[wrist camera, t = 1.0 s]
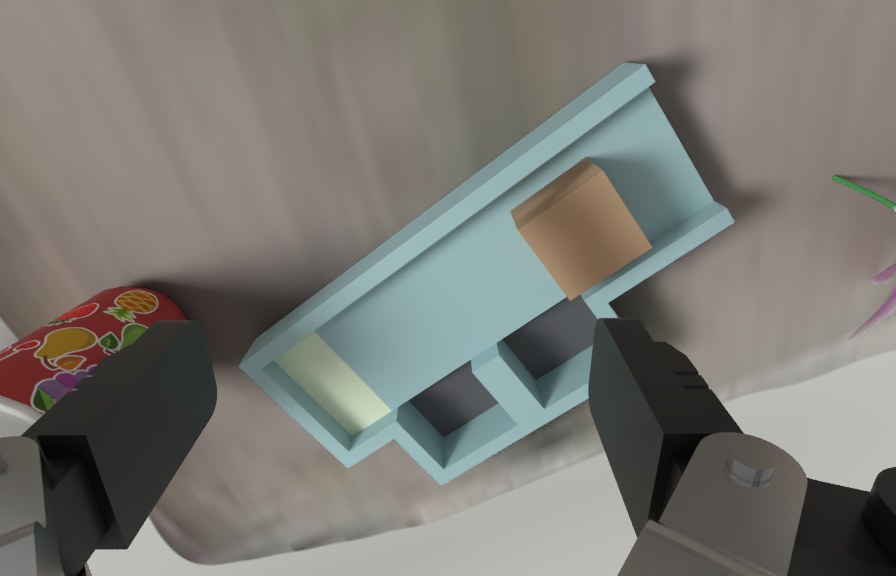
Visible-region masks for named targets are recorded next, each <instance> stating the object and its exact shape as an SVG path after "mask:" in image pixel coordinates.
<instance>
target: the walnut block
mask: <svg viewBox="0 0 896 576" xmlns="http://www.w3.org/2000/svg"><path fill="white" fill-rule="evenodd" d="M510 213H511V215H512V218H513V220H514V222H515V225H516V227H517V230H518V231H519V233H520V234H521V235H522V237H523V238H524V239H525V241H526V242H527V243H528V245H529V246H530V247H531V249H532V250H533V252H534V253H535V254H536V256H537V257H538V258H539V260H540V261H541V262H542V264H543V265H544V266H545V268H546V269H547V270H548V272H549V273H550V275H551V276H552V277H553V279H554V280H555V281H556V283H557V284H558V285H559V287H560V288H561V289H562V291H563V292H564V293H565V295H566V296H567V298H568V299H569V300H570V301H571V300H573V299H574V298H576V297H577V296H579V295H580V294H582V293H583V292H585V291H586V290H588V289H590V288H591V287H593V286H594V285H596V284H597V283H599V282H600V281H602V280H603V279H605V278H607V277H608V276H610V275H611V274H613V273H614V272H616V271H617V270H619V269H620V268H622V267H623V266H625V265H627V264H628V263H630V262H631V261H633V260H634V259H636V258H637V257H639V256H640V255H642V254H644V253H645V252H647V251H648V250H650V249H651V248H653V247H652V246H651V244H650V243H649V241H648V240H647V238H646V237H645V235H644V233H643V232H642V230H641V229H640V227H639V226H638V224H637V223H636V221H635V219H634V218H633V216H632V215H631V213H630V212H629V210H628V209H627V207H626V205H625V204H624V202H623V201H622V199H621V198H620V196H619V195H618V193H617V191H616V190H615V188H614V187H613V185H612V184H611V182H610V181H609V179H608V177H607V176H606V174H605V173H604V171H603V170H602V169H601V168H599V167H598V166H597V165H595V164H594V163H593V162H591V161H590V160H589V159H587V158H586V157H585V158H584V159H582V160H581V161H579V162H578V163H577V164H575V165H574V166H572V167H571V168H570V169H568V170H567V171H565V172H564V173H563V174H561V175H560V176H558V177H557V178H556V179H554V180H553V181H551V182H550V183H549V184H547V185H546V186H544V187H543V188H542V189H540V190H539V191H538V192H536V193H535V194H533V195H532V196H531V197H529V198H528V199H526V200H525V201H524V202H522V203H521V204H519V205H518V206H517V207H515V208H514V209H512V210H511V211H510Z"/></svg>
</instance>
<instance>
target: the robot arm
mask: <svg viewBox="0 0 896 576" xmlns="http://www.w3.org/2000/svg"><path fill="white" fill-rule="evenodd" d="M588 396H589V406H590V411H591V414H592V417H593V420H594V423H595V425H596V428H597V431H598V433H599V436H600V439H601V441H602V444H603V447H604V450H605V452H606V455H607V457H608V460H609V463H610V466H611V468H612V471H613V474H614V476H615V479H616V482H617V484H618V487H619V490H620V492H621V495H622V498H623V501H624V503H625V506H626V508H627V511H628V514H629V517H630V519H631V522H632V525H633V527H634V530H635V533H636V535H637V538H638V539H637V541H636V542H635V544H634V546H633V548H632V550H631V552H630V553H629V555H628V557H627V559H626V561H625V563H624V565H623V567H622V568H621V570H620V572H619V574H618V576H896V467H893V468H888V469H886V470H883V471H882V472H880V473H879V474H878V476H877V478H876V479H875V482H874V484H873V487H872V489H871V492H868V491H862V490H858V489H853V488H849V487H844V486H840V485H835V484H830V483H826V482H821V481H817V480H813V479H809V478H807V477H806V474H805V472H804V470H803V468H802V467H801V466H800V464H799V463H798V462H797V461H796V460H795V459H794V458H793V457H792V456H791V455H789V454H788V453H787V452H786V451H784V450H783V449H781V448H779V447H778V446H776V445H774V444H772V443H770V442H768V441H766V440H763V439H761V438H758V437H755V436H751V435H747V434H744V433H743V432H742V430H740V428H739V426H738V425H737V424H736V422H735V421H734V420H733V418H732V417H731V416H730V414H729V413H728V411H727V410H726V409H725V407H724V406H723V405H722V403H721V402H720V401H719V399H718V398H717V397H716V395H715V394H714V393H713V391H712V390H711V389H709V388H708V384H707V383H706V382H705V380H704V379H703V378H702V376H701V375H698V371H697V370H696V368H695V367H694V366H693V364H692V363H691V361H690V360H689V359H688V357H687V356H686V355H684V354H683V353H681V352H680V351H678V350H677V349H675V348H674V347H672V346H671V345H669V344H668V343H666V342H654V341H653V340H652V338H651V337H650V335H649V334H648V332H647V331H646V329H645V328H644V326H643V325H642V323H641V322H640V320H639V319H638V318H599V319H598V320H597V322H596V326H595V331H594V340H593V349H592V358H591V366H590V375H589V385H588ZM216 400H217V386H216V381H215V377H214V372H213V368H212V363H211V359H210V355H209V350H208V346H207V341H206V337H205V333H204V329H203V327H202V325H201V324H200V323H199V322H198V321H195V320H181V321H156V322H155V323H153V324H152V325H151V326H150V327H149V328H148V329H147V330H146V331H145V332H144V333H143V334H142V335H141V336H140V337H139V338H138V339H137V340H136V341H134V342H133V343H132V344H131V345H128V346H126V347H125V348H123V349H121V350H119V351H117V352H116V353H114V354H112V355H110V356H108V357H106V358H105V359H103V360H102V361H101V362H100V363H99V364H98V365H97V366H96V367H95V368H94V369H92V370H91V371H90V372H89V373H88V374H87V375H86V378H83V379H82V380H80V381H79V382H78V383H77V384H76V385H75V386H74V387H73V388H72V391H71V392H67V393H66V394H65V395H64V396H63V397H62V398H61V399H60V400H59V401H58V402H57V403H56V404H54V405H53V406H52V407H51V408H50V409H49V410H48V411H47V412H46V413H45V414H44V415H43V416H41V417H40V418H39V419H38V420H37V421H36V422H35V423H34V424H33V425H32V426H31V427H29V428H28V429H27V430H26V431H25V432H24V433H23V434H22V435H21V436H10V437H2V438H0V576H92V575H91V572H90V569H89V567H88V564H87V560H88V559H89V558H90V556H91V554H92V553H93V552H94V551H95V549H128V547H129V546H130V544H131V542H132V541H133V539H134V538H135V536H136V535H137V533H138V531H139V530H140V528H141V527H142V525H143V524H144V522H145V521H146V519H147V517H148V516H149V514H150V513H151V511H152V510H153V508H154V506H155V505H156V503H157V502H158V500H159V498H160V497H161V495H162V494H163V492H164V491H165V489H166V487H167V486H168V484H169V483H170V481H171V480H172V478H173V476H174V475H175V473H176V472H177V470H178V469H179V467H180V465H181V464H182V462H183V461H184V459H185V458H186V456H187V454H188V453H189V451H190V450H191V448H192V446H193V445H194V443H195V442H196V440H197V439H198V437H199V435H200V434H201V432H202V431H203V429H204V428H205V426H206V424H207V423H208V421H209V420H210V418H211V416H212V415H213V412H214V409H215V406H216Z"/></svg>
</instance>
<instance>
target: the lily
mask: <svg viewBox="0 0 896 576" xmlns="http://www.w3.org/2000/svg"><path fill="white" fill-rule="evenodd" d="M832 180H835V181H837V182H839V183H841V184H844V185H846V186H848V187H851V188H853V189H855V190H857V191H859V192H861V193H864V194H866V195H868V196H870V197H872V198H874V199H876V200H877V201H879V202H881V203H883V204H885V205H886V206H888V207H889V208H891V209H892V210H894V211H895V212H896V204H895V203H893V202H891V201H889V200H888V199H886V198H884V197H882V196H880V195H878V194H876V193H875V192H873V191H870V190H868V189H866V188H864V187H862V186H859V185H857V184H855V183H853V182H850V181H848V180H846V179H843V178H841V177H839V176H836V175H835V176H834V177H833V179H832ZM895 271H896V264H895V265H893V266H892V267H890V268H889V269H887V270H886V271H884V272H882V273H881V274H879V275H878V276H876V277H875V278H873V279H872V280H871V281H870V282H871V283H873V284H880V283H885V282H888V281H889V280H890V279H891V278H892V277H893V276H894V273H895ZM895 310H896V283H895V285H894V287H893V289H892V291H891V292H890V294H889V296H888V297H887V299H886V300H885V301H884V303H883V304H882V305H881V307H880V308H879V309H878V310H877V311H876V312H875V313H874V314H873V315H872V316H871V317H870V318H869V319H868V320H867V321H866V322H865V323H864V324H863V325H862V326H861V327H860V328H859V329H858V330H857V331H856V332H855V333H854V334H853V335H852V336H850V337H849V339H848V340H851V339H853V338H855V337H857V336H859V335H860V334H862V333H864V332H865V331H867V330H869V329H870V328H872V327H873V326H875V325H877V324H878V323H879V322H881V321H882V320H883V319H885V318H886V317H888V316H889V315H890V314H892V313H893V312H894V311H895ZM848 340H847V341H848Z"/></svg>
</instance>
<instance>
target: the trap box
mask: <svg viewBox="0 0 896 576" xmlns="http://www.w3.org/2000/svg"><path fill="white" fill-rule="evenodd" d="M654 82H655V80H654V78H653V77H652V75H651V73H650V71H649V69H648V68H647V66H646V64H636V63H622V64H621V65H619V66H618V67H617V68H615V69H614V70H613V71H611V72H610V73H609V74H607V75H606V76H605V77H603V78H602V79H601V80H599V81H598V82H597V83H595V84H594V85H593V86H591V87H590V88H589V89H588V90H586V91H585V92H584V93H582V94H581V95H580V96H578V97H577V98H576V99H574V100H573V101H572V102H570V103H569V104H568V105H566V106H565V107H564V108H562V109H561V110H560V111H558V112H557V113H556V114H554V115H553V116H552V117H550V118H549V119H548V120H546V121H545V122H544V123H542V124H541V125H540V126H538V127H537V128H536V129H534V130H533V131H532V132H530V133H529V134H528V135H526V136H525V137H524V138H522V139H521V140H520V141H518V142H517V143H516V144H514V145H513V146H512V147H510V148H509V149H508V150H506V151H505V152H504V153H502V154H501V155H500V156H498V157H497V158H496V159H494V160H493V161H492V162H490V163H489V164H488V165H486V166H485V167H484V168H482V169H481V170H480V171H478V172H477V173H476V174H474V175H473V176H472V177H470V178H469V179H468V180H466V181H465V182H464V183H462V184H461V185H460V186H458V187H457V188H456V189H454V190H453V191H452V192H450V193H449V194H448V195H446V196H445V197H444V198H442V199H441V200H440V201H438V202H437V203H436V204H434V205H433V206H432V207H430V208H429V209H428V210H426V211H425V212H424V213H422V214H421V215H420V216H418V217H417V218H416V219H414V220H413V221H412V222H410V223H409V224H408V225H406V226H405V227H404V228H402V229H401V230H400V231H398V232H397V233H396V234H394V235H393V236H392V237H390V238H389V239H388V240H386V241H385V242H384V243H382V244H381V245H380V246H378V247H377V248H376V249H374V250H373V251H372V252H370V253H369V254H368V255H366V256H365V257H364V258H362V259H361V260H360V261H358V262H357V263H356V264H354V265H353V266H352V267H350V268H349V269H348V270H346V271H345V272H344V273H342V274H341V275H340V276H338V277H337V278H336V279H334V280H333V281H332V282H330V283H329V284H328V285H326V286H325V287H324V288H322V289H321V290H320V291H318V292H317V293H316V294H314V295H313V296H312V297H310V298H309V299H308V300H306V301H305V302H304V303H302V304H301V305H300V306H298V307H297V308H296V309H294V310H293V311H292V312H290V313H289V314H288V315H286V316H285V317H284V318H282V319H281V320H280V321H278V322H277V323H276V324H274V325H273V326H272V327H270V328H269V329H268V330H266V331H265V332H264V333H262V334H261V335H260V336H258V337H257V338H256V339H255V341H254V342H253V344H252V345H251V347H250V348H249V350H248V352H247V353H246V355H245V356H244V358H243V359H242V361H241V363H240V364H239V366H238V367H239V368H240V369H241V370H242V371H243V372H245V373H246V374H247V375H248V376H249V377H250V378H251V379H252V380H253V381H254V382H255V383H256V384H257V385H258V386H260V387H261V388H262V389H263V390H264V391H265V392H266V393H267V394H268V395H269V396H270V397H271V398H272V399H274V400H275V401H276V402H277V403H278V404H279V405H280V406H281V407H282V408H283V409H284V410H285V411H286V412H288V413H289V414H290V415H291V416H292V417H293V418H294V419H295V420H296V421H297V422H298V423H299V424H300V425H302V426H303V427H304V428H305V429H306V430H307V431H308V432H309V433H310V434H311V435H312V436H313V437H314V438H315V439H317V440H318V441H319V442H320V443H321V444H322V445H323V446H324V447H325V448H326V449H327V450H328V451H329V452H331V453H332V454H333V455H334V456H335V457H336V458H337V459H338V460H339V461H340V462H341V463H342V464H343V465H345V466H346V467H347V468H349V467H351V466H352V465H354V464H356V463H357V462H359V461H360V460H362V459H363V458H365V457H367V456H368V455H370V454H371V453H373V452H374V451H376V450H378V449H379V448H381V447H382V446H384V445H385V444H387V443H389V442H390V441H392V440H393V439H395V440H396V441H397V442H398V443H399V444H400V445H401V446H402V447H403V448H404V449H405V450H406V451H407V452H408V453H409V454H410V455H411V456H412V457H413V458H414V459H415V460H416V461H417V462H418V463H419V464H420V465H421V466H422V467H423V468H424V469H425V470H426V471H427V472H428V473H429V474H430V475H431V476H432V477H433V478H434V479H435V480H436V481H437V482H438V483H439V484H440V485H441V486H442V485H443V484H445V483H447V482H448V481H450V480H452V479H453V478H455V477H457V476H458V475H460V474H462V473H463V472H465V471H467V470H469V469H470V468H472V467H474V466H475V465H477V464H479V463H480V462H482V461H484V460H485V459H487V458H489V457H490V456H492V455H494V454H495V453H497V452H499V451H501V450H502V449H504V448H506V447H507V446H509V445H511V444H512V443H514V442H516V441H517V440H519V439H521V438H522V437H524V436H526V435H527V434H529V433H531V432H533V431H534V430H536V429H538V428H539V427H541V426H543V425H544V424H546V423H548V422H549V421H551V420H553V419H554V418H556V417H558V416H559V415H561V414H563V413H565V412H566V411H568V410H570V409H571V408H573V407H575V406H576V405H578V404H580V403H581V402H583V401H585V400H586V399H588V398H589V396H588V385H589V375H590V366H591V358H592V349H593V340H594V331H595V326H596V322H597V320H598V319H599V318H619V317H618V315H617V314H616V312H615V311H614V309H613V308H612V307H611V305H610V304H609V302H610V301H612V300H613V299H615V298H617V297H618V296H620V295H621V294H623V293H624V292H626V291H628V290H629V289H631V288H632V287H634V286H635V285H637V284H639V283H640V282H642V281H643V280H645V279H646V278H648V277H650V276H651V275H653V274H654V273H656V272H657V271H659V270H661V269H662V268H664V267H665V266H667V265H669V264H670V263H672V262H673V261H675V260H676V259H678V258H680V257H681V256H683V255H684V254H686V253H687V252H689V251H691V250H692V249H694V248H695V247H697V246H698V245H700V244H702V243H703V242H705V241H706V240H708V239H709V238H711V237H713V236H714V235H716V234H717V233H719V232H720V231H722V230H724V229H725V228H727V227H728V226H730V225H731V224H733V223H735V222H734V220H733V218H732V216H731V215H730V213H729V211H728V209H727V208H726V207H724V206H722V205H720V204H719V203H717V202H715V201H714V200H713V198H712V196H711V195H710V193H709V191H708V189H707V188H706V186H705V184H704V182H703V181H702V179H701V177H700V175H699V174H698V172H697V170H696V168H695V167H694V165H693V163H692V161H691V160H690V158H689V156H688V154H687V153H686V151H685V149H684V147H683V146H682V144H681V142H680V140H679V139H678V137H677V135H676V133H675V132H674V130H673V128H672V126H671V125H670V123H669V121H668V119H667V118H666V116H665V114H664V112H663V111H662V109H661V107H660V105H659V104H658V102H657V100H656V99H655V97H654V95H653V93H652V92H651V90H650V88H649V86H650V85H652V84H653V83H654ZM585 157H586V158H587V159H589V160H590V161H591V162H593V163H594V164H595V165H597V166H598V167H599V168H601V169H602V170H603V171H604V173H605V174H606V176H607V177H608V179H609V181H610V182H611V184H612V185H613V187H614V188H615V190H616V191H617V193H618V195H619V196H620V198H621V199H622V201H623V202H624V204H625V205H626V207H627V209H628V210H629V212H630V213H631V215H632V216H633V218H634V219H635V221H636V223H637V224H638V226H639V227H640V229H641V230H642V232H643V233H644V235H645V237H646V238H647V240H648V241H649V243H650V244H651V246H652V247H653V248H651V249H650V250H648V251H647V252H645V253H644V254H642V255H640V256H639V257H637V258H636V259H634V260H633V261H631V262H630V263H628V264H627V265H625V266H623V267H622V268H620V269H619V270H617V271H616V272H614V273H613V274H611V275H610V276H608V277H607V278H605V279H603V280H602V281H600V282H599V283H597V284H596V285H594V286H593V287H591V288H590V289H588V290H586V291H585V292H583V293H582V294H580V295H579V296H577V297H576V298H574V299H573V300H571V301H570V300H569V299H568V298H567V296H566V295H565V293H564V292H563V291H562V289H561V288H560V287H559V285H558V284H557V283H556V281H555V280H554V279H553V277H552V276H551V275H550V273H549V272H548V270H547V269H546V268H545V266H544V265H543V264H542V262H541V261H540V260H539V258H538V257H537V256H536V254H535V253H534V252H533V250H532V249H531V247H530V246H529V245H528V243H527V242H526V241H525V239H524V238H523V237H522V235H521V234H520V233H519V231H518V230H517V227H516V225H515V222H514V220H513V218H512V215H511V213H510V211H511V210H512V209H514V208H515V207H517V206H518V205H519V204H521V203H522V202H524V201H525V200H526V199H528V198H529V197H531V196H532V195H533V194H535V193H536V192H538V191H539V190H540V189H542V188H543V187H544V186H546V185H547V184H549V183H550V182H551V181H553V180H554V179H556V178H557V177H558V176H560V175H561V174H563V173H564V172H565V171H567V170H568V169H570V168H571V167H572V166H574V165H575V164H577V163H578V162H579V161H581V160H582V159H584V158H585Z"/></svg>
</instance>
